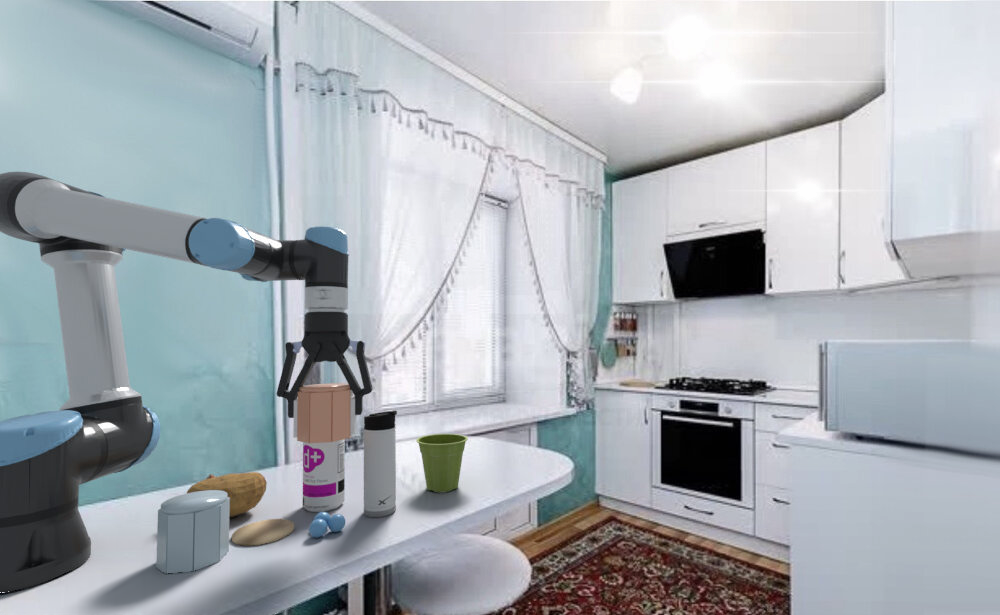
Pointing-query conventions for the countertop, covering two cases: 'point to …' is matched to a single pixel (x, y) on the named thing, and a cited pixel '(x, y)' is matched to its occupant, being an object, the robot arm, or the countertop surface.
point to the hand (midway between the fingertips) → (325, 434)
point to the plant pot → (442, 460)
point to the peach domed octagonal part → (323, 412)
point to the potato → (236, 490)
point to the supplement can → (323, 475)
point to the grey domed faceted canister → (192, 531)
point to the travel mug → (380, 464)
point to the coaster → (262, 532)
